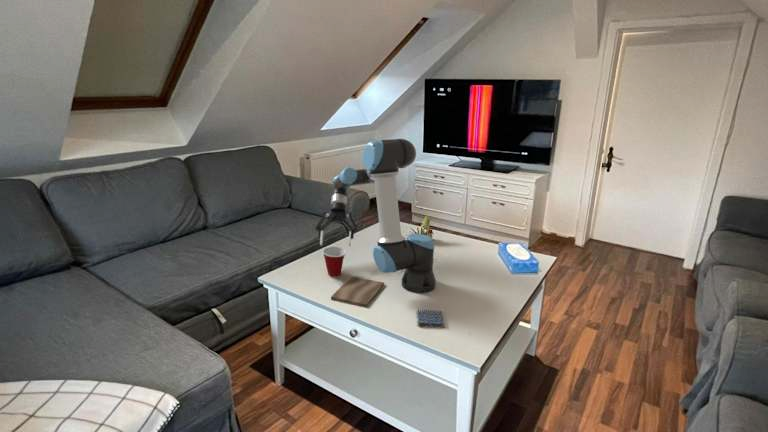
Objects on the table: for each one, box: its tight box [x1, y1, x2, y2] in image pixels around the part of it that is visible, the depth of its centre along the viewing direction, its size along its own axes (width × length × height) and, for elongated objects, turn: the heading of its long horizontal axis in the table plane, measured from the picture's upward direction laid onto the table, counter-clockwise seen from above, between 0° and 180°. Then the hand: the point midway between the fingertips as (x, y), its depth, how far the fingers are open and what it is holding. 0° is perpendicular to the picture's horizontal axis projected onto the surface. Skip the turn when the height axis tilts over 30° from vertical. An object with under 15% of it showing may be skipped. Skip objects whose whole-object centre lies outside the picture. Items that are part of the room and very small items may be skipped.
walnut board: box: [330, 276, 385, 308], centre depth 177 cm, size 16×20×1 cm
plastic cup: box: [321, 246, 347, 278], centre depth 191 cm, size 11×11×12 cm
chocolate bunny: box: [419, 215, 434, 239], centre depth 229 cm, size 7×11×15 cm, turn 143°
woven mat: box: [416, 309, 446, 328], centre depth 158 cm, size 10×11×2 cm
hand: (335, 244), depth 196 cm, fingers open, 13 cm apart
